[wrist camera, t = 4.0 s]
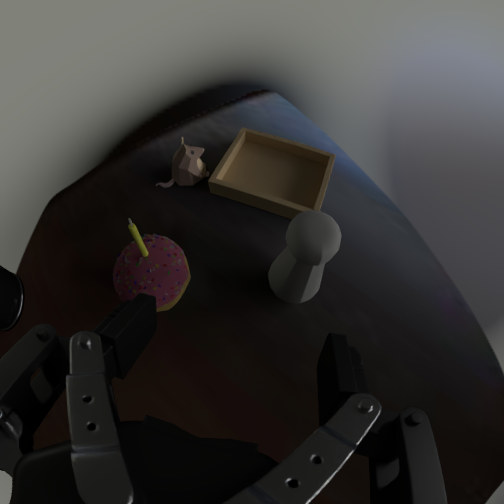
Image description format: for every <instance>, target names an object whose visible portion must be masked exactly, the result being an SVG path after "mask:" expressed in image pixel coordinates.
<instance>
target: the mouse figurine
mask: <svg viewBox="0 0 504 504" xmlns="http://www.w3.org/2000/svg"><path fill="white" fill-rule="evenodd" d="M181 145H182V146H181V147H180V148H179V149H178V150H177V151H176V152H175V153H174V156H173V163H172V179H171V180H170V181H169V182H168V183H161V182H160V183H157V184H156V186H157V185H160V186H162V187H164V188H167V187H170V186H171V185H173V184H174V182H176V183H177V184H178V185H179V186H182V185H194V184H196V183H197V182H199V181H200V180H202V179H203V178H204V177H209V172H208V171H207V169H206V166H207V165H206V164H205V163H204V162H202V161H201V160H200V158H199V157H200V156H201V155H202V154H203V152H204V148H200V147H195V146H192V145H185V144H183V137H182V139H181Z"/></svg>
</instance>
